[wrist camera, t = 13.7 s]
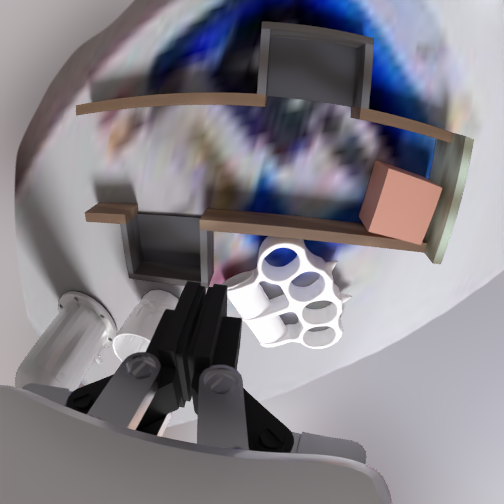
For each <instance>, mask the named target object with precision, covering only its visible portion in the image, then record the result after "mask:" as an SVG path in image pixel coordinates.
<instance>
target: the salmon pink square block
mask: <svg viewBox="0 0 504 504" xmlns="http://www.w3.org/2000/svg"><path fill="white" fill-rule="evenodd" d="M441 191H442V187H440V186H439V185H437V184H435V183H434V182H432V181H431V180H429V179H427V178H426V177H423V176H420V175H418V174H415V173H412V172H410V171H407V170H404V169H401V168H398V167H395V166H392V165H389V164H386V163H383V162H380V161H377V160H375V164H374V167H373V171H372V174H371V178H370V181H369V185H368V188H367V191H366V194H365V198H364V201H363V204H362V207H361V210H360V213H359V218H360V219H361V221H362V222H363V224H364V226H365V227H366V229H367V230H368V232H372V233H376V234H380V235H384V236H388V237H392V238H396V239H400V240H403V241H407V242H411V243H415V244H418V245H421V244H422V241H423V239H424V236H425V234H426V231H427V229H428V226H429V224H430V221H431V219H432V216H433V213H434V211H435V208H436V205H437V203H438V200H439V197H440V194H441Z"/></svg>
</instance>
